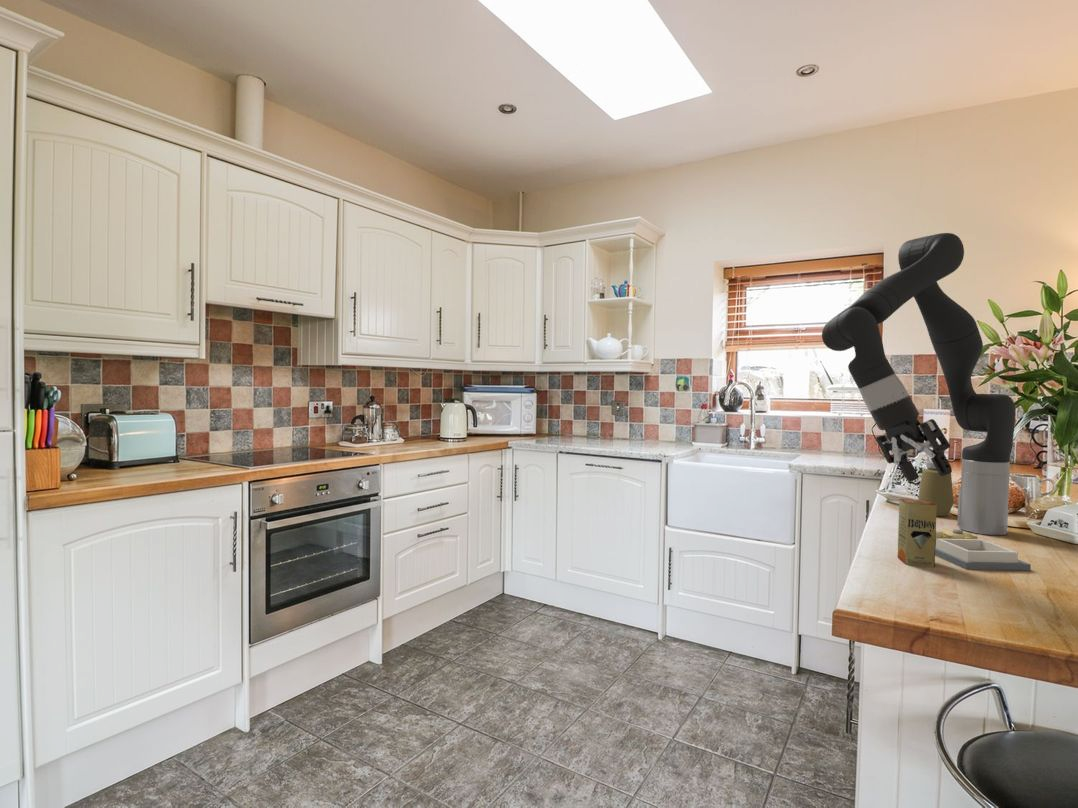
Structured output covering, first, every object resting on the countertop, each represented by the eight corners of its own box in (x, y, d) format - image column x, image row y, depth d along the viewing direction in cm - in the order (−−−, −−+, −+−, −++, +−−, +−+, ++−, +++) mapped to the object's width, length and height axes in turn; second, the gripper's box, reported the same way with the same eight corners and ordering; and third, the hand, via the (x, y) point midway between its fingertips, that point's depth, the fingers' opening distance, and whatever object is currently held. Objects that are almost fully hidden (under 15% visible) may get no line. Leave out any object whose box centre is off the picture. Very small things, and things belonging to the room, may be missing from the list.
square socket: (935, 547, 121) (936, 538, 121) (982, 548, 121) (982, 539, 121) (967, 561, 112) (967, 551, 112) (1017, 562, 111) (1018, 552, 111)
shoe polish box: (897, 557, 118) (899, 498, 118) (925, 559, 117) (927, 500, 117) (905, 564, 114) (907, 503, 113) (934, 566, 112) (936, 505, 112)
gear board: (904, 541, 131) (904, 525, 131) (959, 542, 131) (960, 526, 130) (965, 569, 111) (966, 550, 111) (1031, 570, 111) (1032, 551, 110)
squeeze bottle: (926, 517, 156) (928, 450, 155) (912, 510, 164) (914, 447, 163) (959, 518, 154) (961, 451, 154) (943, 512, 162) (945, 447, 162)
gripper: (929, 385, 110) (975, 464, 107) (879, 404, 124) (918, 474, 120) (897, 399, 108) (942, 480, 105) (850, 416, 122) (889, 488, 119)
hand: (929, 477), depth 113 cm, fingers open, 8 cm apart
